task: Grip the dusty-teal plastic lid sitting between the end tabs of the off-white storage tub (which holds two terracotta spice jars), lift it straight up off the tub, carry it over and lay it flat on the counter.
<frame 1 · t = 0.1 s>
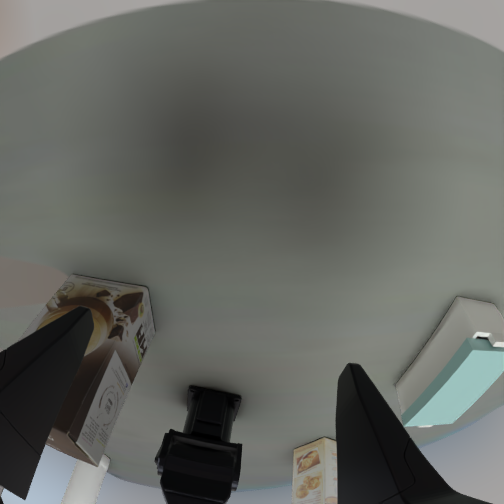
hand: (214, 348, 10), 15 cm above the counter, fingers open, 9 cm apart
lid: (457, 382, 25), point 5 cm above the counter, touching tub
coffee box: (113, 301, 30), on the counter
bottle: (96, 453, 60), on the counter
tub: (444, 348, 29), on the counter
coffeecake box: (338, 451, 44), on the counter
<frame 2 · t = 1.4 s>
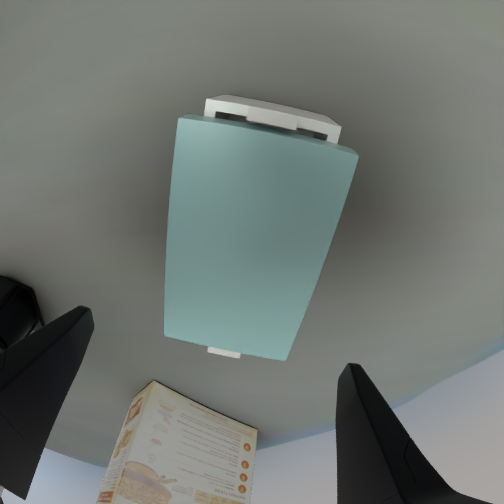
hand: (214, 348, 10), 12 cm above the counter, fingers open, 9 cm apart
lid: (245, 248, 16), point 5 cm above the counter, touching tub
tub: (253, 209, 20), on the counter
coffeecake box: (195, 414, 35), on the counter
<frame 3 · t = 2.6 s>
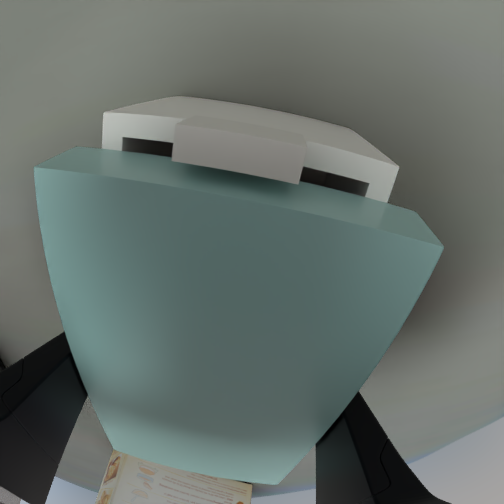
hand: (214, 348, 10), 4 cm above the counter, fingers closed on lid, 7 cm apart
lid: (209, 371, 9), point 5 cm above the counter, touching gripper, tub
tub: (232, 277, 13), on the counter
coffeecake box: (182, 469, 28), on the counter
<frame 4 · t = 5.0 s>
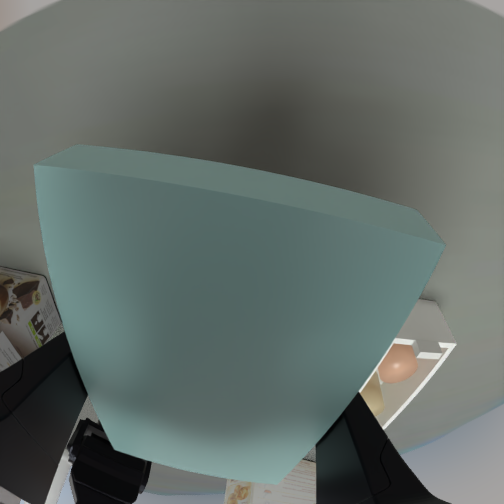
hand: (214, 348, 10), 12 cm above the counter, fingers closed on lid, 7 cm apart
lid: (209, 370, 9), point 13 cm above the counter, touching gripper
coffee box: (26, 291, 27), on the counter
bottle: (61, 448, 57), on the counter
tub: (373, 354, 26), on the counter
coffeecake box: (281, 461, 41), on the counter
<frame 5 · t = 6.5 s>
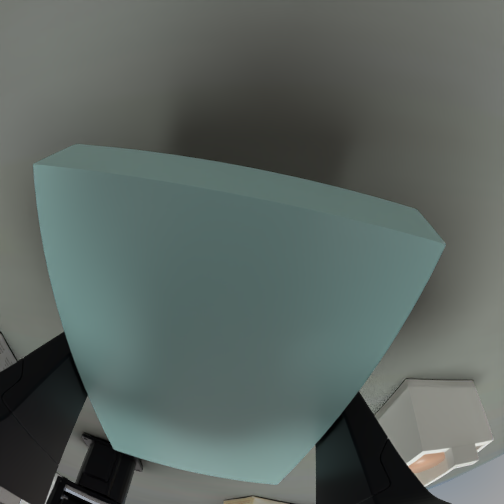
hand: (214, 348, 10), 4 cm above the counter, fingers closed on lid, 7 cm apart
lid: (209, 370, 9), point 5 cm above the counter, touching gripper
bottle: (50, 470, 50), on the counter
tub: (391, 432, 20), on the counter
when the fingers open (1 cm above the counter, at t = 7.6 s): lid drops 3 cm, on the counter.
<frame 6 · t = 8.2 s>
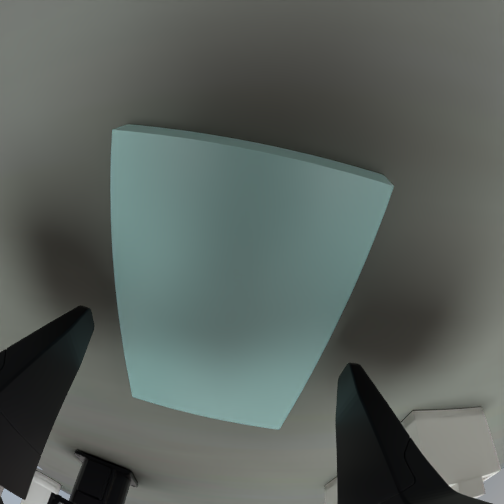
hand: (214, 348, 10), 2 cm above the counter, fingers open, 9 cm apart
lid: (224, 305, 12), on the counter
bottle: (47, 477, 48), on the counter
tub: (394, 457, 18), on the counter
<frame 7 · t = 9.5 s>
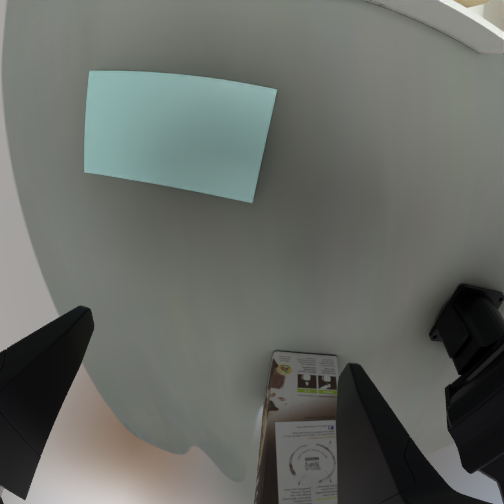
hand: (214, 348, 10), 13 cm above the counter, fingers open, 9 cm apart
lid: (173, 127, 19), on the counter
coffee box: (297, 378, 31), on the counter
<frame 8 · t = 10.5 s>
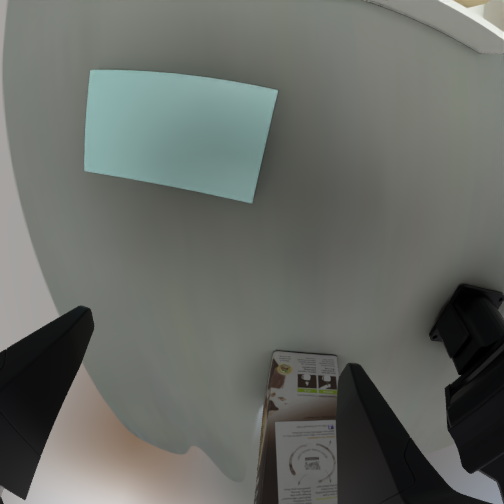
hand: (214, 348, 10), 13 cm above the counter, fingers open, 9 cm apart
lid: (174, 126, 19), on the counter
coffee box: (297, 378, 31), on the counter
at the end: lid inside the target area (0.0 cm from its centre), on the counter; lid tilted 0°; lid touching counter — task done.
